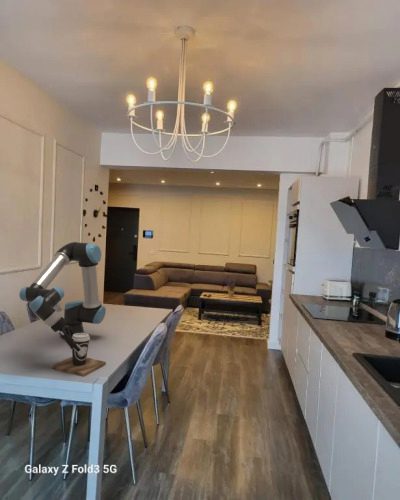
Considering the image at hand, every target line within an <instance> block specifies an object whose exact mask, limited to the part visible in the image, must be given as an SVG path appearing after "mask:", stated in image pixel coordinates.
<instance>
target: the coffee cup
mask: <svg viewBox="0 0 400 500" xmlns="http://www.w3.org/2000/svg"><path fill="white" fill-rule="evenodd" d="M72 338H73V340H74V341H75V343H76V344H78V345H79V346H80V347H81V348H82V349H83V350H84V351H85V352H86V354H84V355H83V356H81V355H80V354H79V353H78V352H77V351H76V350H74V349H73V348H72V349H71V354H72V355H71V357H72V360H73V365H77V366H80V365H84V364H85V363H86V358H88V357H87V356H88V350H89V343H90V340H91V336H90V335H89V334H88V333H87V332H85V333H76V334H73V336H72Z"/></svg>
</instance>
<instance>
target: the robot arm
mask: <svg viewBox="0 0 400 500" xmlns="http://www.w3.org/2000/svg"><path fill="white" fill-rule="evenodd" d="M101 259H102V250H101V247H100V246H99V245H98V244H96V243H91V242H77V241H72V242H69V243H67V244H64V245H63V246H62V247H61V248H59V249H58V250H57V251H56V252H55V254H54V257H53V258H52V259H51V261H50V262H49V263H48V265H46V267H44V269H43V270H42V271H41V272H40V274H39V275H38V276H37V277H36V279H35V280H34V281H33V282H32V283H31V284H30V285H29V286H25V287H22V288H21V289H20V292H19V299H20V300H21V301H23V302H24V301H25V302H30V303H29V305H28V307H29V308H30V310H31V311H32V312H33V313H34V314H36V315H37V317H39V318H40V319H41V320H42V321H43V322H44V325H47V326H48V327H50V330H52V331H53V332H55V333H57V332H58V331H59V333H58V334H59V335H60V336H59V338H60V339H63V340H64V341H65V343H66V344H67V345H68V347H69V348H70V349H71V350H72V348H73V349H74V350H76V351H77V352H78V353H79V354H80V355H81V356H83V355H84V354H86V352H85V351H84V350H83V349H82V348H81V347H80V346H79V345H78V344H76V343H75V341H74V340H73V338H72V336H73V334H76V333H86V332H85V330H84V326H83V323H85V324H87V323H88V324H94V325H98V324H101V323H102V322H103V320H104V319H105V316H106V310H107V308H106V307H105V306H104V305H102V301H101V300H100V299H99V288H98V287H99V286H98V276H97V275H98V274H97V266H98V265H99V263H100V262H101ZM70 262H78V266H79V267H80V269H81V274H82V275H81V276H82V284H83V285H82V287H83V296H84V301H83V300H75V301H69V302H66V303H65V306H64V308H63V309H64V314H63V316H64V317H63V316H62V314H60V313H59V312H58V311H57V310H56V309H54V307H55V306H56V305H57V304H59V303H60V302H61V301H62V300H63V298H64V296H65V291H64V290H63V288H61V287H59V286H54V287H52V288H51V289H49V288H48V287H49V286H50V285H51V283H52V282H54V279H55V278H56V277H57V276H58V275H59V274H60V272H61V271H62V269H63V268H64V267H65V266H66V265H69V264H70Z"/></svg>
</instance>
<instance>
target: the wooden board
mask: <svg viewBox="0 0 400 500" xmlns="http://www.w3.org/2000/svg"><path fill="white" fill-rule="evenodd" d="M106 364H107V362H106V361H104V360H100V359H95V358H90V357H86V363H85V364H84V365H80V366H77V365H73V360H72V356H70V357H68V358H66V359H63V360H61V361H60V362H59V361H58V362H57V363H54V364H52V365H51V369H52V370H56V371H60V372H64V373H67V374H68V373H69V374H71V375H72V374H73V375H76V376H79V377H80V376H81V377H86V376H87V375H89V374H91V373H93V372H95V371H97V370H99V369H100V368H102V367H105V366H106Z"/></svg>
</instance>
